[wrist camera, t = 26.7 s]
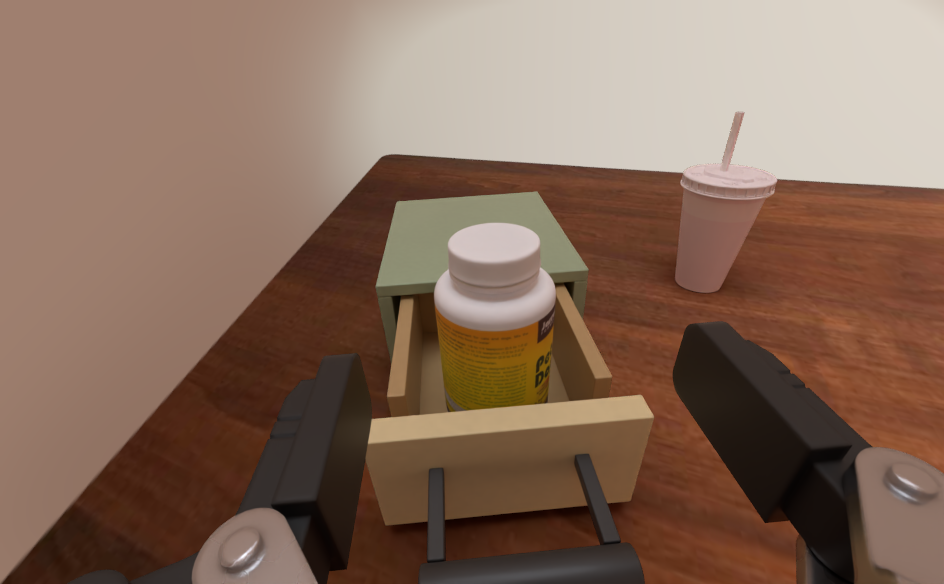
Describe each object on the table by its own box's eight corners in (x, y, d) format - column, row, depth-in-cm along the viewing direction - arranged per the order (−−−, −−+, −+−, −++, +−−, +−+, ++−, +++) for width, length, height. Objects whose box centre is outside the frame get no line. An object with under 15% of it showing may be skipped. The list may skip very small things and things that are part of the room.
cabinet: (577, 365, 28) (589, 269, 24) (394, 381, 27) (375, 286, 23) (534, 265, 40) (537, 191, 36) (407, 275, 40) (396, 201, 36)
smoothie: (701, 260, 40) (746, 104, 32) (757, 293, 34) (826, 115, 27) (644, 271, 38) (677, 111, 31) (692, 307, 33) (746, 125, 26)
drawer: (686, 634, 15) (734, 554, 11) (369, 670, 14) (330, 597, 11) (557, 327, 30) (563, 258, 27) (405, 339, 30) (393, 271, 27)
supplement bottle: (548, 455, 20) (564, 274, 14) (437, 445, 21) (412, 270, 15) (546, 374, 24) (557, 215, 19) (456, 369, 25) (441, 214, 20)
